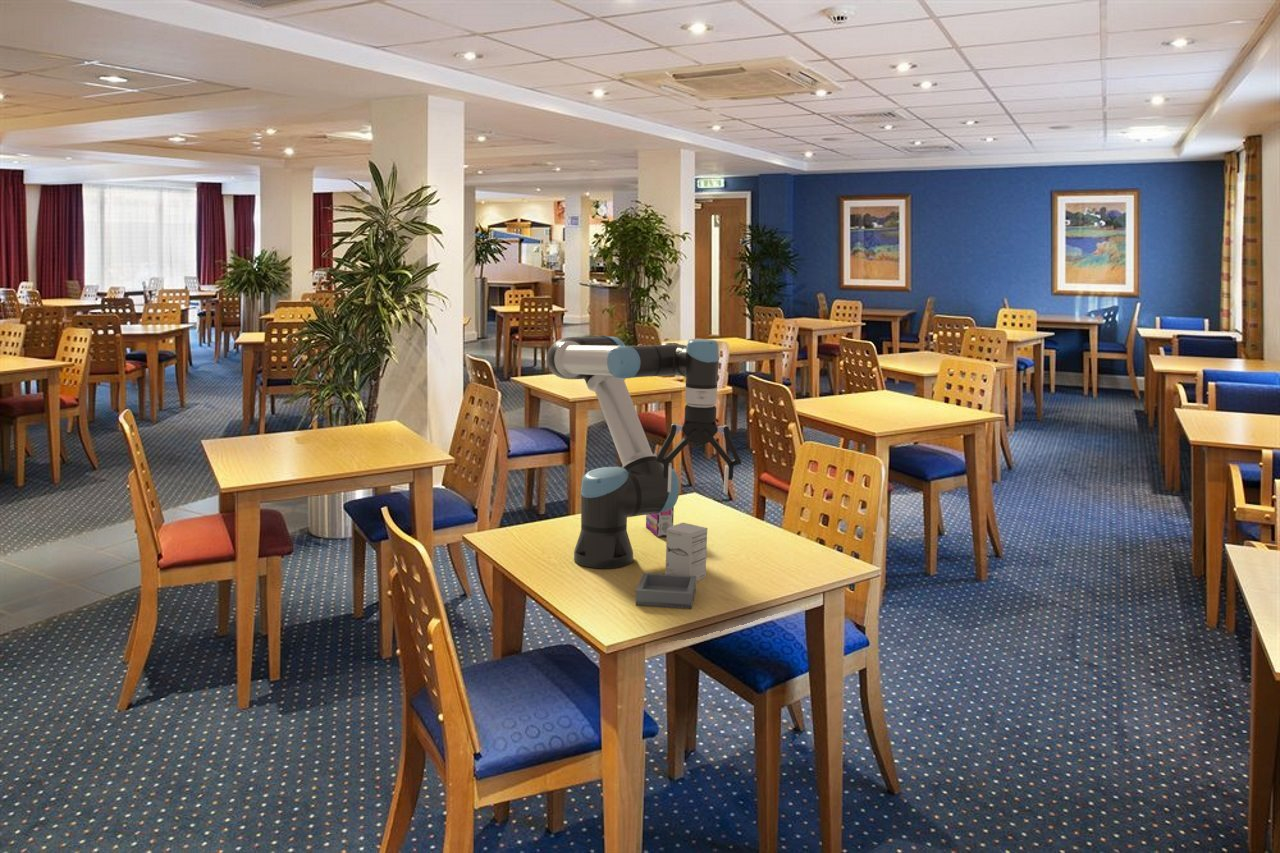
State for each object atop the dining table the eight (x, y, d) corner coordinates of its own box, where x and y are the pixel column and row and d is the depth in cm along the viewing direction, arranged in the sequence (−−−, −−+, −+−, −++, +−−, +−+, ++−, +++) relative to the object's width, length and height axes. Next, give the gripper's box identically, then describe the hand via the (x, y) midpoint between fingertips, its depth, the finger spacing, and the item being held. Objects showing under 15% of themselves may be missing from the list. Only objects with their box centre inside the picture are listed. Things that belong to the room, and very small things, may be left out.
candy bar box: (674, 536, 263) (675, 479, 260) (657, 537, 262) (658, 480, 259) (661, 526, 274) (662, 471, 271) (645, 527, 272) (646, 471, 270)
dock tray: (635, 605, 209) (635, 590, 208) (643, 587, 221) (643, 572, 220) (691, 609, 207) (691, 593, 206) (695, 590, 219) (696, 575, 219)
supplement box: (664, 578, 228) (665, 527, 225) (682, 570, 233) (683, 521, 231) (689, 584, 223) (690, 533, 221) (706, 577, 229) (708, 526, 227)
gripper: (647, 405, 220) (645, 493, 223) (754, 408, 219) (750, 497, 223) (648, 400, 227) (646, 486, 231) (751, 403, 226) (747, 489, 230)
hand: (697, 491), depth 227 cm, fingers open, 13 cm apart
